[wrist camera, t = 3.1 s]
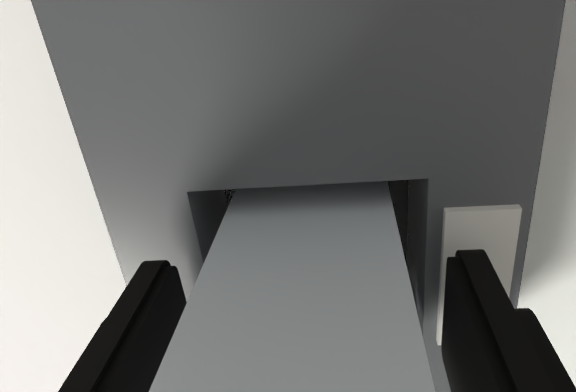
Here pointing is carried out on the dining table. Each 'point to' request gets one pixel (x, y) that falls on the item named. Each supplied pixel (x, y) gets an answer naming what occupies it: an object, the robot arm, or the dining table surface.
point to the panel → (311, 119)
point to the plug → (301, 299)
